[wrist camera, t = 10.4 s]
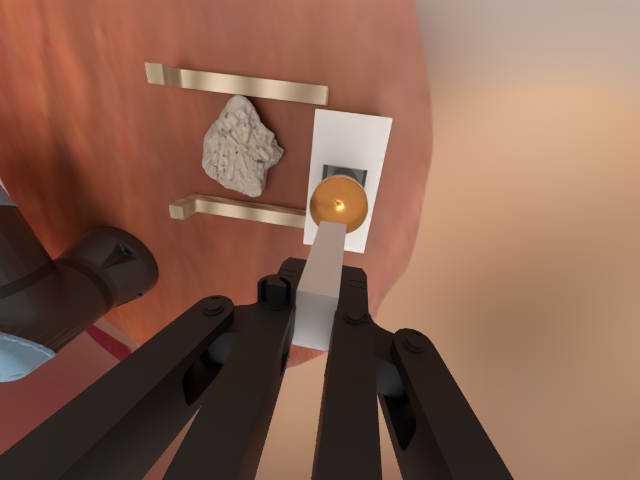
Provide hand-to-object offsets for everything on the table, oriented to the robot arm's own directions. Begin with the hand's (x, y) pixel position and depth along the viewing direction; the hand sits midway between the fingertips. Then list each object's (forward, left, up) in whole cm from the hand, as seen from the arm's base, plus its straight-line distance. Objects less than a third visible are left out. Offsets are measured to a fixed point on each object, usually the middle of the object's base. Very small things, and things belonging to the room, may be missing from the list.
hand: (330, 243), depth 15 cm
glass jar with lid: (0, 0, -15) cm, 15 cm away
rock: (-15, +1, -25) cm, 29 cm away
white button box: (0, 0, -24) cm, 24 cm away
